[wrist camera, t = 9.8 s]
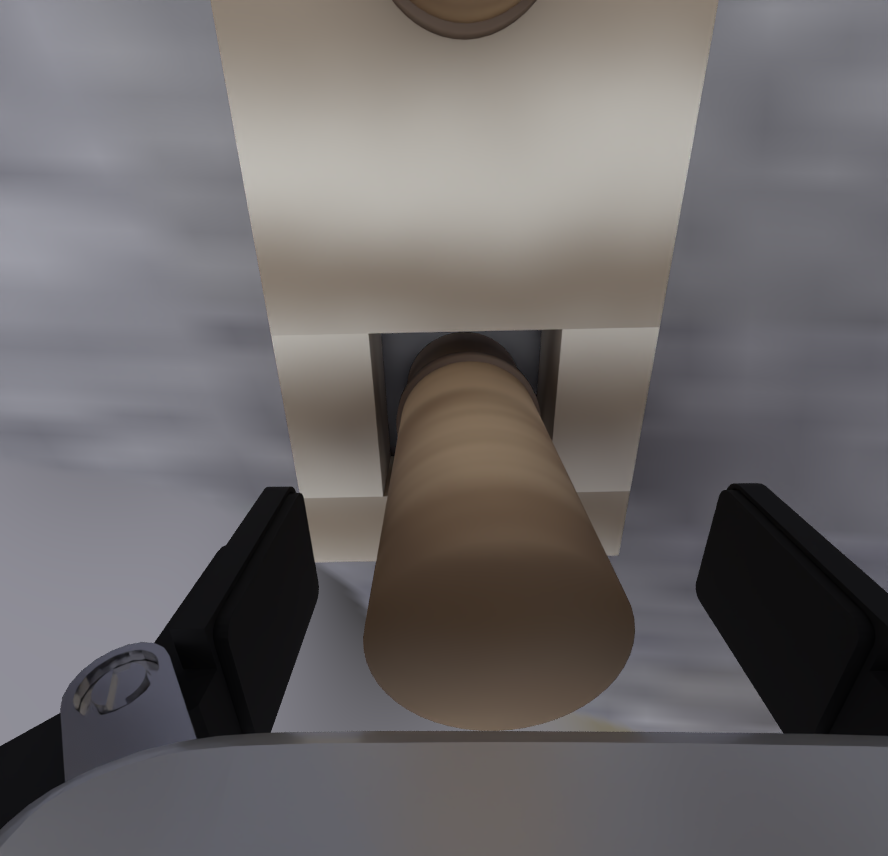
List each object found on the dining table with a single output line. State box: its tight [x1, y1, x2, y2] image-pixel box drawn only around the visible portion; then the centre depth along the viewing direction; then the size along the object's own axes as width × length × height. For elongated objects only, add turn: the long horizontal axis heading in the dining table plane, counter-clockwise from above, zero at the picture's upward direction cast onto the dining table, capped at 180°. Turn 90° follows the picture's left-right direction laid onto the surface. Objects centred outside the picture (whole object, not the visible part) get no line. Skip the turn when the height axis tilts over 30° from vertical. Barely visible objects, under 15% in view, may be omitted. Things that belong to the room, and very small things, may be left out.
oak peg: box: [363, 332, 635, 731], centre depth 13 cm, size 5×5×12 cm
